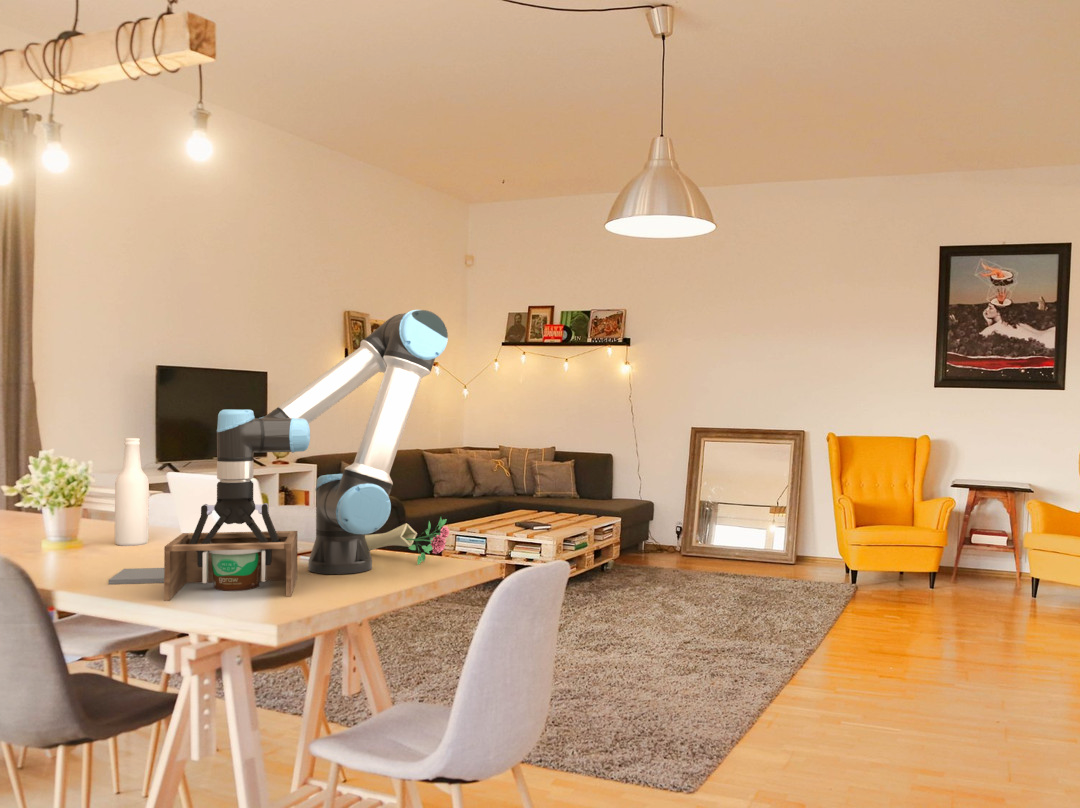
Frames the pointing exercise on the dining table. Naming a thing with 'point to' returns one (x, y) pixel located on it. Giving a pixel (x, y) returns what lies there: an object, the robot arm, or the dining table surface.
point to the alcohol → (131, 499)
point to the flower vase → (410, 539)
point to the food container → (236, 569)
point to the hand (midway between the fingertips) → (234, 581)
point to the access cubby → (184, 556)
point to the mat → (138, 576)
